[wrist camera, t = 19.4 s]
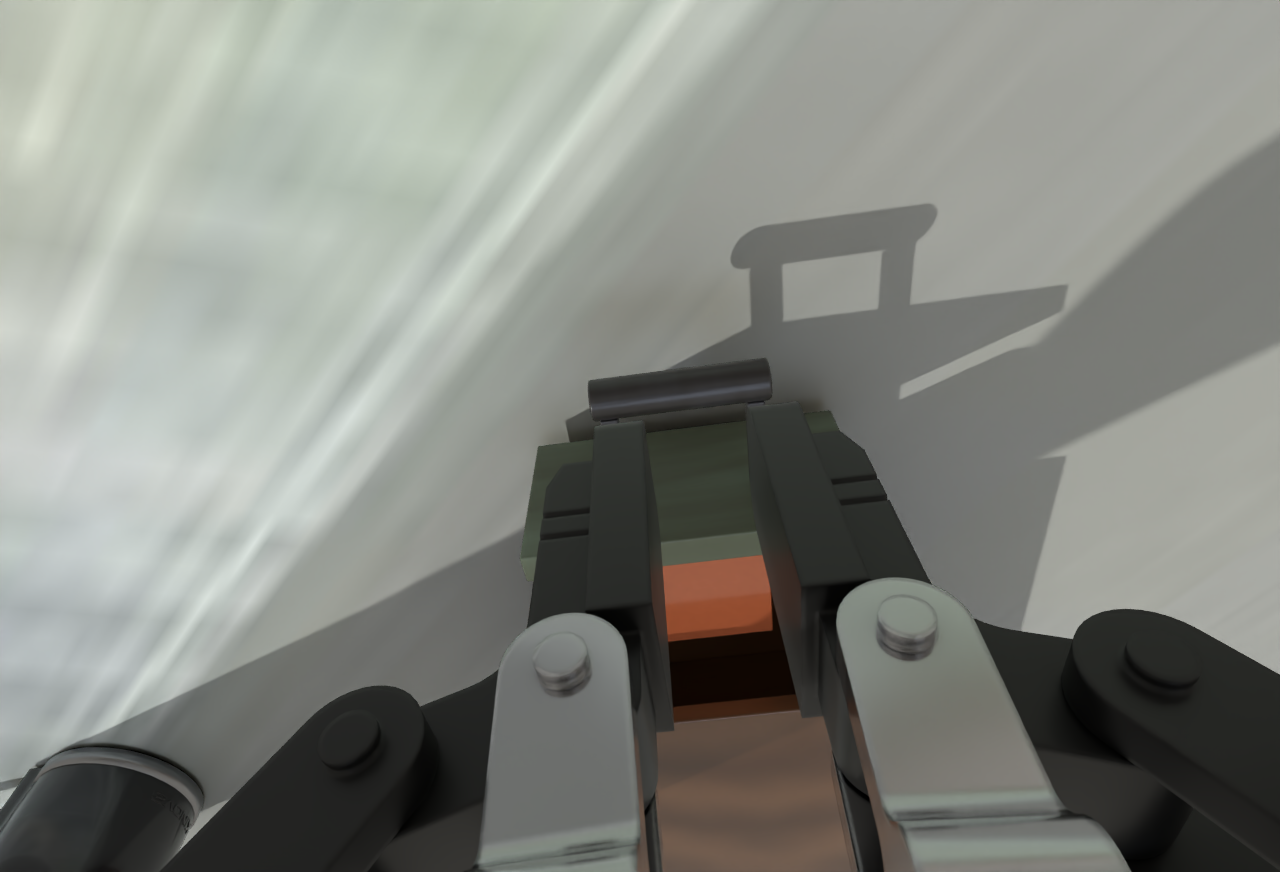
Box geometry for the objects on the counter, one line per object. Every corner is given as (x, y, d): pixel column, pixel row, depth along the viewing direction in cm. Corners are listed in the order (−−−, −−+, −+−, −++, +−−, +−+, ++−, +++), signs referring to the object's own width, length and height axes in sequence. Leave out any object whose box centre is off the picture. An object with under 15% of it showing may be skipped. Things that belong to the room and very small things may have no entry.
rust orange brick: (642, 587, 33) (644, 645, 31) (624, 496, 30) (625, 551, 27) (760, 573, 33) (773, 630, 30) (754, 480, 30) (768, 534, 27)
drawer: (509, 338, 27) (480, 438, 21) (833, 295, 26) (891, 386, 21) (594, 662, 38) (590, 784, 32) (824, 637, 37) (861, 758, 32)
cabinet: (565, 580, 36) (552, 735, 29) (834, 550, 35) (888, 701, 28) (612, 753, 45) (611, 904, 37) (828, 732, 44) (868, 882, 37)
